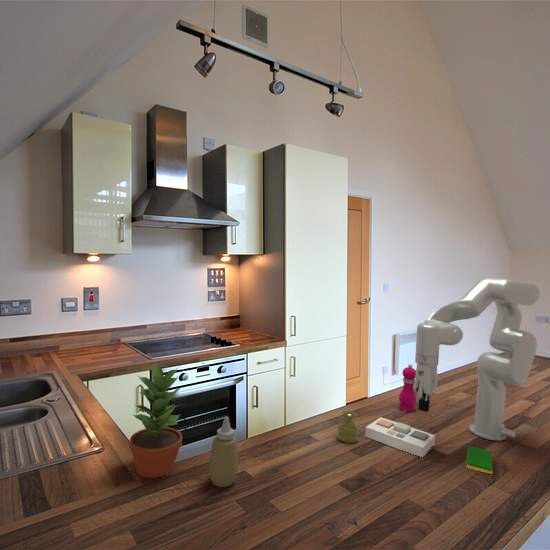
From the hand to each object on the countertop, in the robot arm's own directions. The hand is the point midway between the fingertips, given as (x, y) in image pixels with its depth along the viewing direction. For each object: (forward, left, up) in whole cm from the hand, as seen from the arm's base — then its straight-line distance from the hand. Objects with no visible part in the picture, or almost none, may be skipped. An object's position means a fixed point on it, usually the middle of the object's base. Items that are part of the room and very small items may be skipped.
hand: (423, 410), depth 138 cm
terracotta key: (+13, +1, -12) cm, 17 cm away
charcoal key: (0, +1, -12) cm, 11 cm away
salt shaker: (+21, +15, -13) cm, 29 cm away
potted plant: (+50, +74, -13) cm, 90 cm away
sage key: (+7, +1, -11) cm, 13 cm away
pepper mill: (+17, -31, -13) cm, 37 cm away
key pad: (+7, +2, -13) cm, 14 cm away
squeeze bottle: (+32, +65, -13) cm, 74 cm away
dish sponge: (-18, -3, -13) cm, 23 cm away
